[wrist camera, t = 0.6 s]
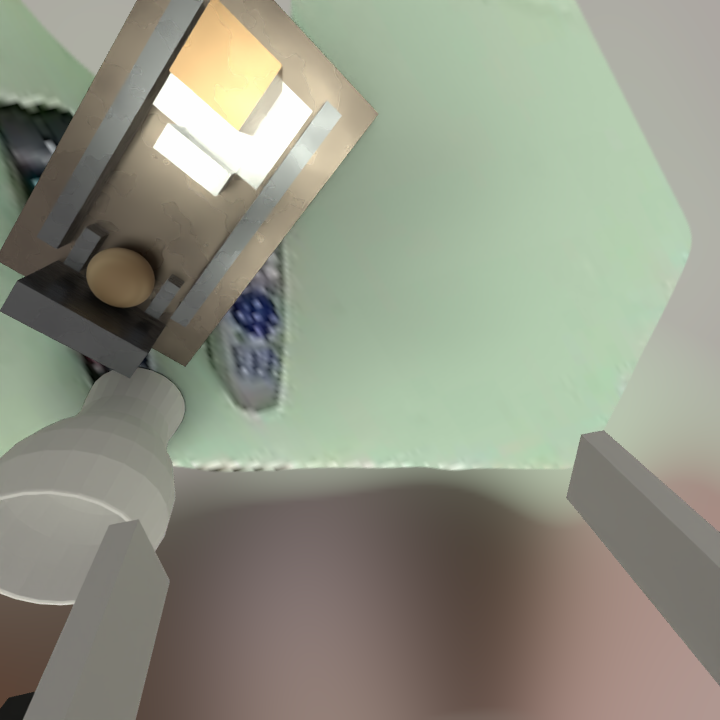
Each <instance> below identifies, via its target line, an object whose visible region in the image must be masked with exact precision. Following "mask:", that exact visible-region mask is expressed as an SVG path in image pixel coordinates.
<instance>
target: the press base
mask: <svg viewBox="0 0 720 720" xmlns="http://www.w3.org/2000/svg"><path fill="white" fill-rule="evenodd" d="M219 1H220V2H221V3H222V4H223V5H224V6H225V7H226V8H227V9H228V10H229V11H230V12H231V13H232V14H233V15H234V16H235V17H236V18H237V19H238V20H239V21H240V22H241V23H242V24H243V25H244V27H245V28H246V29H247V30H248V31H249V32H250V33H251V34H252V35H253V36H254V37H255V38H256V39H257V40H258V41H259V42H260V43H261V44H262V45H263V46H264V47H265V48H266V49H267V50H268V51H269V52H270V53H271V54H272V55H273V56H274V57H275V58H276V59H277V60H278V61H279V62H280V63H281V64H282V65H283V82H284V83H285V84H286V85H287V86H288V87H289V88H290V89H291V90H292V91H293V92H294V93H295V94H296V95H297V96H298V97H299V98H300V99H301V100H302V101H303V102H304V103H305V104H306V105H307V106H308V107H309V108H310V109H311V110H312V113H311V114H310V116H309V117H308V118H307V120H306V121H305V122H304V124H303V125H302V127H301V128H300V129H299V131H298V132H297V134H296V135H295V136H294V138H293V139H292V141H291V142H290V143H289V145H288V146H287V148H286V149H285V150H284V152H283V153H282V155H281V156H280V157H279V159H278V160H277V162H276V163H275V164H274V166H273V167H272V169H271V170H270V171H269V173H268V174H267V176H266V177H265V178H264V180H263V181H262V183H261V184H260V185H259V187H258V188H257V190H256V189H254V188H253V187H252V186H251V185H250V184H248V183H247V182H246V181H245V180H244V179H242V178H241V177H240V176H239V175H238V174H235V175H234V177H233V178H232V180H231V181H230V183H229V184H228V185H227V187H226V188H225V190H224V191H223V192H222V193H220V194H219V195H218V196H214V195H213V194H212V193H210V192H209V191H208V190H207V189H205V188H204V187H203V186H202V185H200V184H199V183H198V182H196V181H195V180H194V179H193V178H191V177H190V176H189V175H187V174H186V173H185V172H184V171H182V170H181V169H180V168H179V167H177V166H176V165H175V164H173V163H172V162H171V161H170V160H168V159H167V158H166V157H164V156H163V155H162V154H161V153H159V152H158V151H157V150H156V149H154V148H153V146H154V145H155V143H156V142H157V140H158V138H159V137H160V135H161V134H162V132H163V130H164V129H165V127H166V125H167V124H168V123H171V124H176V123H175V122H174V121H172V120H171V119H170V118H169V117H168V116H166V115H165V114H164V113H163V112H162V111H160V110H159V109H158V108H157V107H156V106H154V105H153V102H154V101H155V99H156V97H157V96H158V94H159V92H160V91H161V89H162V87H163V86H164V84H165V82H166V81H167V79H168V77H169V76H170V74H171V72H170V71H169V69H170V67H171V66H172V64H173V62H174V61H175V59H176V57H177V56H178V54H179V52H180V51H181V49H182V47H183V46H184V44H185V42H186V41H187V39H188V37H189V36H190V34H191V32H192V31H193V29H194V27H195V25H196V24H197V22H198V20H199V19H200V17H201V15H202V14H203V12H204V10H205V9H206V7H207V5H208V4H209V2H210V0H137V1H136V3H135V5H134V7H133V9H132V11H131V12H130V14H129V16H128V18H127V20H126V21H125V23H124V25H123V27H122V29H121V31H120V33H119V34H118V36H117V38H116V40H115V42H114V43H113V45H112V47H111V49H110V51H109V53H108V54H107V56H106V58H105V60H104V62H103V64H102V65H101V67H100V69H99V71H98V73H97V75H96V76H95V78H94V80H93V82H92V84H91V86H90V87H89V89H88V91H87V93H86V95H85V97H84V98H83V100H82V102H81V104H80V106H79V108H78V109H77V111H76V113H75V115H74V117H73V119H72V120H71V122H70V124H69V126H68V128H67V129H66V131H65V133H64V135H63V137H62V139H61V140H60V142H59V144H58V146H57V148H56V150H55V151H54V153H53V155H52V157H51V159H50V161H49V162H48V164H47V166H46V168H45V170H44V172H43V173H42V175H41V177H40V179H39V181H38V183H37V184H36V186H35V188H34V190H33V192H32V194H31V195H30V197H29V199H28V201H27V203H26V205H25V206H24V208H23V210H22V212H21V214H20V216H19V217H18V219H17V221H16V223H15V225H14V226H13V228H12V230H11V232H10V234H9V236H8V237H7V239H6V241H5V243H4V245H3V247H2V248H1V250H0V262H1V263H2V264H4V265H6V266H8V267H9V268H11V269H13V270H15V271H16V272H18V273H20V274H22V275H24V276H25V277H24V278H22V279H20V280H18V281H17V282H16V284H15V286H14V287H13V289H12V291H11V292H10V294H9V296H8V298H7V299H6V301H5V303H4V305H3V306H2V308H1V310H0V312H2V313H4V314H6V315H8V316H10V317H12V318H14V319H16V320H18V321H20V322H21V323H23V324H25V325H27V326H29V327H31V328H33V329H35V330H37V331H39V332H41V333H43V334H45V335H47V336H49V337H50V338H52V339H54V340H56V341H58V342H60V343H62V344H64V345H66V346H68V347H70V348H72V349H74V350H76V351H77V352H79V353H81V354H83V355H85V356H87V357H89V358H91V359H93V360H95V361H97V362H99V363H101V364H103V365H104V366H106V367H108V368H110V369H112V370H114V371H116V372H118V373H120V374H122V375H124V376H126V377H128V378H131V376H132V375H133V373H134V372H135V371H136V369H137V368H138V366H139V365H140V364H141V362H142V361H143V360H144V358H145V357H146V355H147V354H148V353H149V351H150V349H151V348H153V349H155V350H157V351H158V352H160V353H162V354H164V355H165V356H167V357H169V358H171V359H173V360H174V361H176V362H178V363H180V364H181V365H183V366H186V365H187V364H188V362H189V361H190V360H191V359H192V357H193V356H194V355H195V353H196V352H197V351H198V349H199V348H200V347H201V345H202V344H203V343H204V342H205V340H206V339H207V338H208V336H209V335H210V334H211V332H212V331H213V330H214V328H215V327H216V326H217V325H218V323H219V322H220V321H221V319H222V318H223V317H224V315H225V314H226V313H227V311H228V310H229V309H230V308H231V306H232V305H233V304H234V302H235V301H236V300H237V298H238V297H239V296H240V294H241V293H242V292H243V291H244V289H245V288H246V287H247V285H248V284H249V283H250V281H251V280H252V279H253V277H254V276H255V275H256V273H257V272H258V271H259V270H260V268H261V267H262V266H263V264H264V263H265V262H266V260H267V259H268V258H269V256H270V255H271V254H272V253H273V251H274V250H275V249H276V247H277V246H278V245H279V243H280V242H281V241H282V239H283V238H284V237H285V236H286V234H287V233H288V232H289V230H290V229H291V228H292V226H293V225H294V224H295V222H296V221H297V220H298V219H299V217H300V216H301V215H302V213H303V212H304V211H305V209H306V208H307V207H308V205H309V204H310V203H311V202H312V200H313V199H314V198H315V196H316V195H317V194H318V192H319V191H320V190H321V188H322V187H323V186H324V184H325V183H326V182H327V181H328V179H329V178H330V177H331V175H332V174H333V173H334V171H335V170H336V169H337V167H338V166H339V165H340V164H341V162H342V161H343V160H344V158H345V157H346V156H347V154H348V153H349V152H350V150H351V149H352V148H353V147H354V145H355V144H356V143H357V141H358V140H359V139H360V137H361V136H362V135H363V133H364V132H365V131H366V130H367V128H368V127H369V126H370V124H371V123H372V122H373V120H374V119H375V118H376V116H377V115H378V113H377V112H376V111H375V109H374V108H373V107H372V106H371V105H370V104H369V103H368V102H367V101H366V100H365V99H364V98H363V96H362V95H361V94H360V93H359V92H358V91H357V90H356V89H355V88H354V87H353V86H352V85H351V83H350V82H349V81H348V80H347V79H346V78H345V77H344V76H343V75H342V74H341V73H340V71H339V70H338V69H337V68H336V67H335V66H334V65H333V64H332V63H331V62H330V61H329V60H328V58H327V57H326V56H325V55H324V54H323V53H322V52H321V51H320V50H319V49H318V48H317V47H316V45H315V44H314V43H313V42H312V41H311V40H310V39H309V38H308V37H307V36H306V35H305V33H304V32H303V31H302V30H301V29H300V28H299V27H298V26H297V25H296V24H295V23H294V22H293V20H292V19H291V18H290V17H289V16H288V15H287V14H286V13H285V12H284V11H283V10H282V9H281V7H279V5H278V4H277V3H276V2H275V1H274V0H219ZM176 125H177V124H176ZM117 247H119V248H126V249H130V250H132V251H135V252H137V253H138V254H140V255H141V256H143V257H144V258H145V259H146V260H147V261H148V263H149V264H150V266H151V268H152V270H153V272H154V276H155V284H154V289H153V291H152V293H151V295H150V296H149V297H148V298H147V299H146V300H145V301H144V302H142V303H141V304H139V305H136V306H133V307H125V308H122V307H115V306H111V305H109V304H106V303H104V302H103V301H101V300H100V299H99V298H97V297H96V296H95V295H94V293H93V292H92V291H91V289H90V287H89V285H88V282H87V278H86V272H87V267H88V264H89V262H90V260H91V259H92V258H93V257H94V256H95V255H96V254H97V253H99V252H100V251H103V250H105V249H108V248H117Z"/></svg>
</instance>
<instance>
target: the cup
mask: <svg viewBox="0 0 720 720" xmlns="http://www.w3.org/2000/svg"><path fill="white" fill-rule="evenodd" d="M184 413H185V404H184V399H183V397H182V395H181V392H180V391H179V390H178V388H177V387H176V386H175V385H174V383H172V382H171V381H170V380H168V379H167V378H166V377H164V376H163V375H161V374H158V373H156V372H154V371H152V370H148V369H143V368H137V369H136V371H135V372H134V373H133V375H132V376H131V378H128V377H126V376H124V375H122V374H120V373H118V372H116V371H114V370H112V371H110V372H108V373H105V374H103V375H102V376H101V377H100V378H99V379H98V380H96V381H95V383H94V385H93V386H92V388H91V390H90V392H89V394H88V396H87V397H86V399H85V402H84V404H83V407H82V409H81V411H80V412H79V413H78V414H77V415H76V416H73V417H70V418H66V419H62V420H60V421H57V422H55V423H53V424H51V425H49V426H47V427H45V428H43V429H41V430H39V431H37V432H36V433H34V434H32V435H30V436H29V437H27V438H25V439H23V440H21V441H20V442H18V443H17V444H15V445H14V446H13V447H12V448H11V449H10V450H9V451H8V452H7V453H5V454H4V455H3V456H2V457H1V458H0V593H1V594H3V595H6V596H9V597H11V598H14V599H18V600H23V601H27V602H32V603H37V604H51V605H69V604H74V603H75V601H76V599H77V596H78V594H79V592H80V589H81V587H82V585H83V583H84V580H85V578H86V576H87V574H88V571H89V569H90V567H91V565H92V562H93V560H94V558H95V556H96V553H97V551H98V549H99V547H100V544H101V542H102V540H103V537H104V535H105V533H106V531H107V528H108V526H109V525H111V524H116V523H122V522H127V521H132V520H137V519H139V521H140V523H141V525H142V527H143V529H144V531H145V533H146V535H147V537H148V539H149V541H150V543H151V545H152V547H153V549H154V551H155V550H156V549H157V547H158V546H159V544H160V542H161V541H162V539H163V537H164V536H165V533H166V529H167V526H168V522H169V519H170V516H171V512H172V509H173V505H174V502H175V498H176V497H175V486H174V474H173V465H172V461H171V459H170V456H169V454H168V452H167V445H168V441H169V440H170V439H171V437H172V436H173V434H174V433H175V431H176V430H177V428H178V427H179V425H180V423H181V422H182V420H183V417H184Z"/></svg>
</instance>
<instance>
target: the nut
mask: <svg viewBox="0 0 720 720" xmlns="http://www.w3.org/2000/svg"><path fill="white" fill-rule="evenodd" d="M86 278H87V282H88V285H89V287H90V289H91V291H92V292H93V293H94V295H95V296H96V297H97V298H99V299H100V300H101V301H103V302H104V303H106V304H109V305H111V306H115V307H122V308H125V307H133V306H136V305H139V304H141V303H142V302H144V301H145V300H146V299H147V298H148V297H149V296H150V295H151V293H152V291H153V289H154V284H155V276H154V272H153V270H152V268H151V266H150V264H149V263H148V261H147V260H146V259H145V258H144V257H143V256H141V255H140V254H138V253H137V252H135V251H132V250H130V249H126V248H119V247H117V248H108V249H105V250H103V251H100V252H99V253H97V254H96V255H95V256H94V257H93V258H92V259H91V260H90V262H89V264H88V267H87V272H86Z"/></svg>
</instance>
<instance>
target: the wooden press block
mask: <svg viewBox="0 0 720 720" xmlns="http://www.w3.org/2000/svg"><path fill="white" fill-rule="evenodd" d="M169 71H170V72H171V74H170V76H169V77H168V79H167V81H166V82H165V84H164V86H163V87H162V89H161V91H160V92H159V94H158V96H157V97H156V99H155V101H154V102H153V105H154V106H156V107H157V108H158V109H159V110H160V111H162V112H163V113H164V114H165V115H166V116H168V117H169V118H170V119H171V120H172V121H174V122H175V123H176V124H177V125H176V124H171V123H168V124H167V125H166V127H165V129H164V130H163V132H162V134H161V135H160V137H159V138H158V140H157V142H156V143H155V145H154V146H153V148H154V149H156V150H157V151H158V152H159V153H161V154H162V155H163V156H164V157H166V158H167V159H168V160H170V161H171V162H172V163H173V164H175V165H176V166H177V167H179V168H180V169H181V170H182V171H184V172H185V173H186V174H187V175H189V176H190V177H191V178H193V179H194V180H195V181H196V182H198V183H199V184H200V185H202V186H203V187H204V188H205V189H207V190H208V191H209V192H210V193H212V194H213V195H214V196H218V195H219V194H220V193H222V192H223V191H224V190H225V188H226V187H227V185H228V184H229V183H230V181H231V180H232V178H233V177H234V175H235V174H238V175H239V176H240V177H241V178H242V179H244V180H245V181H246V182H247V183H248V184H250V185H251V186H252V187H253V188H254V189H256V190H257V188H258V187H259V185H260V184H261V183H262V181H263V180H264V178H265V177H266V176H267V174H268V173H269V171H270V170H271V169H272V167H273V166H274V164H275V163H276V162H277V160H278V159H279V157H280V156H281V155H282V153H283V152H284V150H285V149H286V148H287V146H288V145H289V143H290V142H291V141H292V139H293V138H294V136H295V135H296V134H297V132H298V131H299V129H300V128H301V127H302V125H303V124H304V122H305V121H306V120H307V118H308V117H309V116H310V114H311V113H312V110H311V109H310V108H309V107H308V106H307V105H306V104H305V103H304V102H303V101H302V100H301V99H300V98H299V97H298V96H297V95H296V94H295V93H294V92H293V91H292V90H291V89H290V88H289V87H288V86H287V85H286V84H285V83H284V82H283V65H282V64H281V63H280V62H279V61H278V60H277V59H276V58H275V57H274V56H273V55H272V54H271V53H270V52H269V51H268V50H267V49H266V48H265V47H264V46H263V45H262V44H261V43H260V42H259V41H258V40H257V39H256V38H255V37H254V36H253V35H252V34H251V33H250V32H249V31H248V30H247V29H246V28H245V27H244V25H243V24H242V23H241V22H240V21H239V20H238V19H237V18H236V17H235V16H234V15H233V14H232V13H231V12H230V11H229V10H228V9H227V8H226V7H225V6H224V5H223V4H222V3H221V2H220V1H219V0H210V2H209V4H208V5H207V7H206V9H205V10H204V12H203V14H202V15H201V17H200V19H199V20H198V22H197V24H196V25H195V27H194V29H193V31H192V32H191V34H190V36H189V37H188V39H187V41H186V42H185V44H184V46H183V47H182V49H181V51H180V52H179V54H178V56H177V57H176V59H175V61H174V62H173V64H172V66H171V67H170V69H169Z"/></svg>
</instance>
